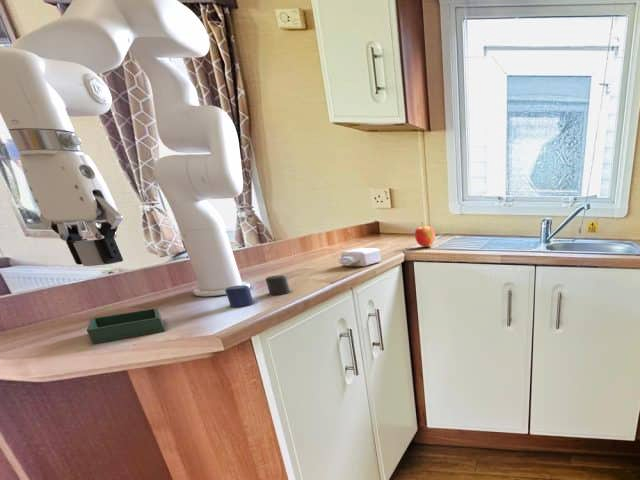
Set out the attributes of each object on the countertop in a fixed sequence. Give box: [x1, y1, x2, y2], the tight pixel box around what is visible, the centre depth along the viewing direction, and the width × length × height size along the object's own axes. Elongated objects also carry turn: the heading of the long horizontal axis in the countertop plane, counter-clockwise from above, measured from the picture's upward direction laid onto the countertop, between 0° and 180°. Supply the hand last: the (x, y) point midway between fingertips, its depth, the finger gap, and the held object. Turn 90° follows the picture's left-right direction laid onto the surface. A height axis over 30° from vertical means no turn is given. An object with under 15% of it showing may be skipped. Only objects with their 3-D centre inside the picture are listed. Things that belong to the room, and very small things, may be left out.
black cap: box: [265, 274, 291, 296], centre depth 106 cm, size 5×5×4 cm
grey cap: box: [73, 238, 118, 267], centre depth 74 cm, size 5×5×4 cm
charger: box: [337, 247, 382, 268], centre depth 139 cm, size 5×9×15 cm
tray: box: [86, 307, 166, 345], centre depth 80 cm, size 10×10×3 cm
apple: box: [414, 223, 436, 248], centre depth 177 cm, size 8×8×10 cm
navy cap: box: [225, 285, 254, 308], centre depth 96 cm, size 5×5×4 cm
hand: (99, 261), depth 75 cm, fingers closed on grey cap, 4 cm apart
